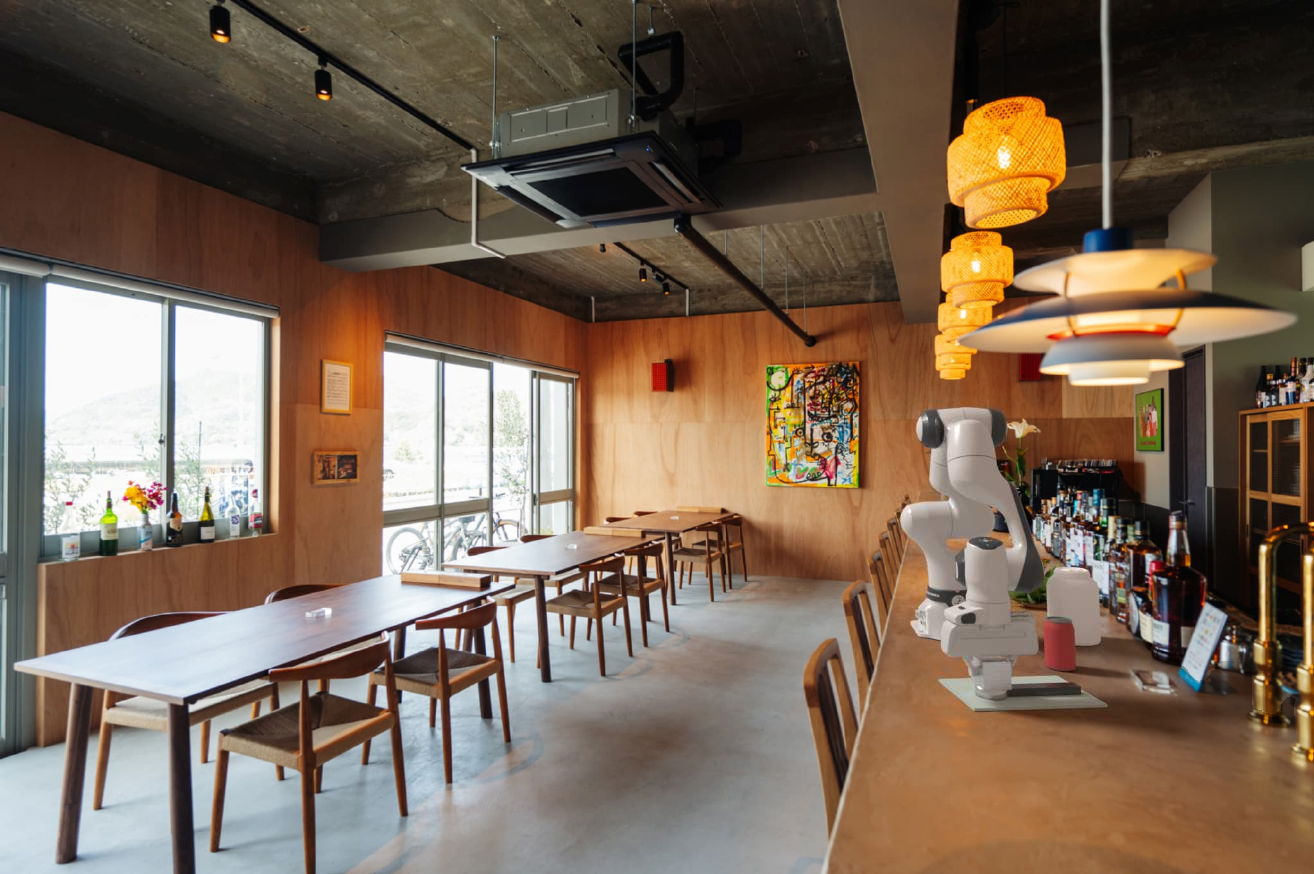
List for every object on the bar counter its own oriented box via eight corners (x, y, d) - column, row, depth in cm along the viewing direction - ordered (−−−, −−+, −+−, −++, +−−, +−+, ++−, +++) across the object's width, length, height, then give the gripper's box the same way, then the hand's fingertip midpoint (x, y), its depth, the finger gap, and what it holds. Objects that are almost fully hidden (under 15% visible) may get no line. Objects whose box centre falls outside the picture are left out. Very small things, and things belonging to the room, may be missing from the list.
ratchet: (969, 690, 153) (969, 667, 153) (1068, 687, 153) (1067, 664, 153) (983, 701, 146) (982, 676, 146) (1086, 697, 146) (1085, 673, 146)
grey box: (971, 680, 152) (970, 653, 152) (997, 679, 152) (996, 653, 152) (984, 690, 146) (982, 662, 146) (1011, 689, 146) (1010, 661, 146)
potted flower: (1072, 599, 237) (1070, 549, 237) (1093, 616, 214) (1090, 560, 215) (993, 596, 244) (991, 548, 245) (1005, 612, 222) (1003, 558, 222)
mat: (938, 681, 160) (938, 679, 160) (1057, 678, 160) (1056, 675, 160) (974, 711, 142) (974, 708, 142) (1107, 707, 142) (1107, 704, 142)
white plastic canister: (1098, 636, 192) (1095, 566, 192) (1103, 649, 181) (1100, 574, 181) (1047, 632, 198) (1044, 563, 198) (1049, 644, 187) (1046, 571, 187)
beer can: (1080, 672, 163) (1078, 622, 164) (1050, 671, 165) (1048, 622, 165) (1069, 664, 170) (1068, 616, 170) (1041, 663, 171) (1039, 615, 171)
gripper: (1027, 607, 153) (1029, 669, 153) (936, 610, 153) (938, 671, 153) (1043, 614, 146) (1045, 678, 146) (948, 617, 146) (951, 681, 146)
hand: (990, 675), depth 149 cm, fingers closed on grey box, 6 cm apart
